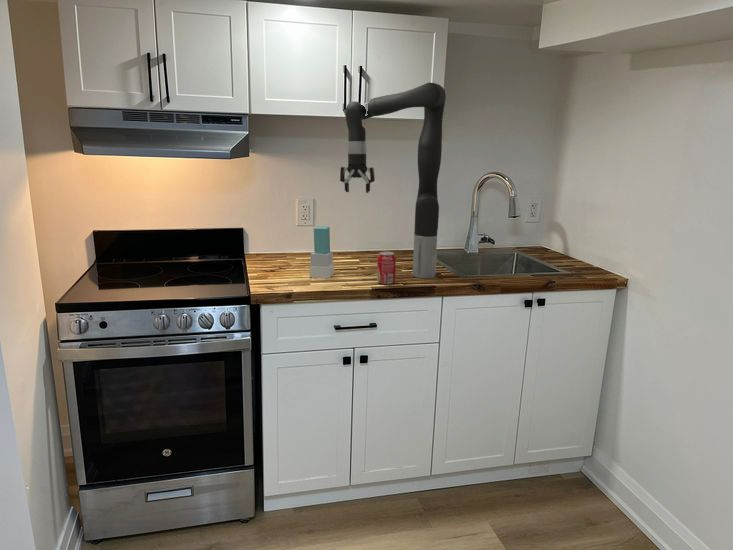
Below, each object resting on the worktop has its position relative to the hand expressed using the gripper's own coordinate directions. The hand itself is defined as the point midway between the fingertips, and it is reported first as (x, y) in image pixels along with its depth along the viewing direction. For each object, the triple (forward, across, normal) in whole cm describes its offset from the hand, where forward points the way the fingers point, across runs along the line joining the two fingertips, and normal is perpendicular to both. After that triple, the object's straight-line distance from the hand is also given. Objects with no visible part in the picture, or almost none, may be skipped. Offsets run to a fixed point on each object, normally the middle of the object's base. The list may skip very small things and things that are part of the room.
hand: (357, 192), depth 229 cm
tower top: (+28, -10, -18) cm, 34 cm away
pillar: (+22, -10, -18) cm, 30 cm away
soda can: (+33, +16, -20) cm, 42 cm away
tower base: (+32, -11, -18) cm, 38 cm away
